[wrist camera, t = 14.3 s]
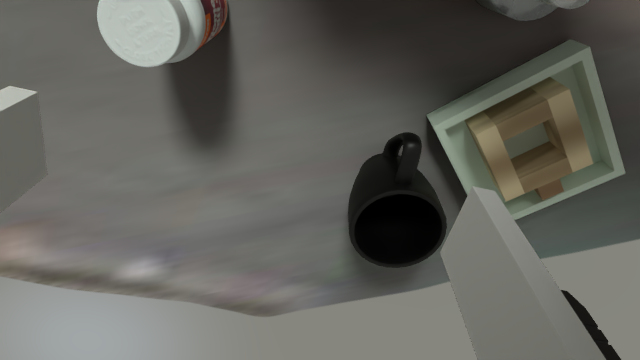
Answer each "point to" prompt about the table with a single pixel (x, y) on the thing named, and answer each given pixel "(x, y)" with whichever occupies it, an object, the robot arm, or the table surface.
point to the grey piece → (529, 7)
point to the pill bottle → (159, 28)
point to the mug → (395, 207)
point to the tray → (566, 68)
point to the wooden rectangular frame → (540, 162)
